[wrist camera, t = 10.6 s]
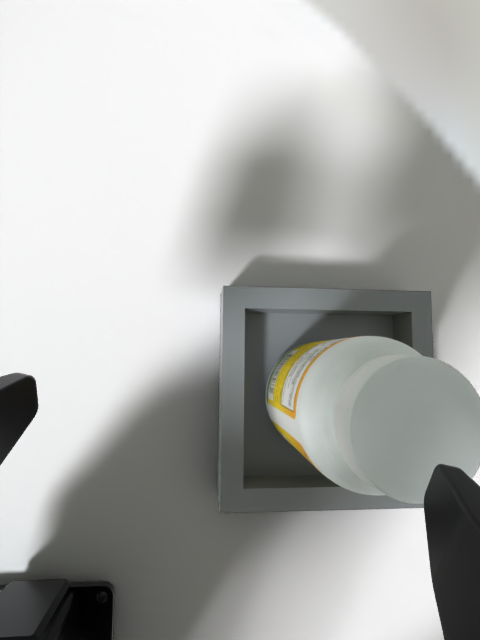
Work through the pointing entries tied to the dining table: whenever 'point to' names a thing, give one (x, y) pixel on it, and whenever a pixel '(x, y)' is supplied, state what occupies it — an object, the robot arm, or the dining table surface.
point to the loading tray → (253, 372)
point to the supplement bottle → (375, 414)
